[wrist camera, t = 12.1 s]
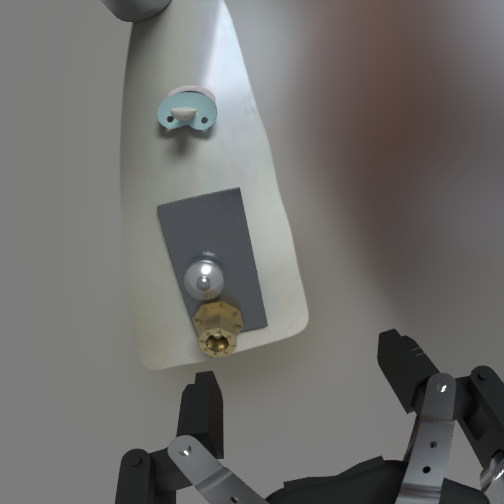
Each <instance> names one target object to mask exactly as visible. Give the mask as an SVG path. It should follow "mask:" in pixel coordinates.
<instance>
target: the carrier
mask: <svg viewBox="0 0 504 504" xmlns="http://www.w3.org/2000/svg"><path fill="white" fill-rule="evenodd" d="M157 210H158V214H159V218H160V222H161V225H162V229H163V232H164V236H165V239H166V243H167V246H168V250H169V253H170V256H171V260H172V263H173V266H174V269H175V272H176V276H177V279H178V282H179V285H180V288H181V291H182V294H183V297H184V300H185V303H186V306H187V309H188V312H189V315H190V318H191V320H192V318H193V314H194V313H195V311H196V310H197V308H198V307H199V306H200V304H201V303H202V301H204V300H210V299H215V298H220V297H223V298H225V299H227V300H229V301H230V302H232V303H234V304H236V305H238V306H239V307H240V311H241V315H242V319H243V323H244V327H243V329H242V330H241V331H246V330H251V329H256V328H261V327H266V326H268V324H267V319H266V314H265V310H264V305H263V300H262V295H261V290H260V285H259V280H258V275H257V270H256V265H255V260H254V255H253V251H252V246H251V241H250V236H249V231H248V226H247V221H246V216H245V211H244V206H243V201H242V197H241V192H240V187H237V188H232V189H227V190H223V191H218V192H213V193H209V194H204V195H200V196H196V197H191V198H187V199H183V200H179V201H175V202H171V203H166V204H162V205H159V206H158V207H157ZM192 323H193V320H192ZM193 326H194V323H193ZM194 329H195V332H196V334H197V331H196V328H195V326H194ZM212 336H213V337H214V338H216V339H219V338H221V337H222V335H220V334H216V335H212ZM197 337H198V334H197Z"/></svg>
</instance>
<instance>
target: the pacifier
mask: <svg viewBox="0 0 504 504" xmlns="http://www.w3.org/2000/svg"><path fill="white" fill-rule="evenodd" d="M194 92H198V93H194ZM200 93H201V94H200ZM215 102H216V101H215V97H214V95H213V93H212V92H210V91H209V90H208V89H206V88H204V87H200V86H194V85H188V86H182V87H178V88H176V89H174V90H173V91H171V92H170V93H169V94H168V96H167V97H166V99H165V100H164V101H163V102H162V103H161V105H160V106H159V108H158V113H157V116H158V120H159V122H160V123H161V124H162V125H163V126H165V127H167V128H171V129H176V128H180V127H182V126H184V125H189V126H190V127H192V128H194V129H198V130H203V129H207V128H209V127H210V126H211V125H213V123H214V122H215V120H216V117H217V108H216V105H215ZM169 116H172V117H173V118H174V120H173V122H168V121H167V118H168V117H169ZM204 117H206V118H208V122H207V123H205V124H203V123H202V122H201V120H202V118H204Z"/></svg>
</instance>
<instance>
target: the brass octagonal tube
mask: <svg viewBox="0 0 504 504" xmlns="http://www.w3.org/2000/svg"><path fill="white" fill-rule="evenodd" d="M192 320H193V323H194V326H195V328H196V331H197V334H198V343H199V346H200V348H201V351H202V352H203V353H205V354H207V355H209V356H212V357H214V358H217V357H223V356H229V355H230V354H231V352H232V351H233V350H234V349H235V348H236V346H237V341H236V336H237V335H238V334H239V332H240V331H241V330H242V329H243V327H244V323H243V319H242V315H241V311H240V307H239V306H238V305H236V304H234V303H232V302H230V301H229V300H227V299H225V298H223V297H220V298H215V299H210V300H204V301H202V303H201V304H200V306H199V307H198V308H197V310H196V311H195V313H194V314H193V318H192ZM216 334H220V335H222V337H221V338H219V339H216V338H214V337H213V336H212V335H216Z"/></svg>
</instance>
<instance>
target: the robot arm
mask: <svg viewBox="0 0 504 504" xmlns="http://www.w3.org/2000/svg"><path fill="white" fill-rule="evenodd" d="M100 1H102V3H103V4H105V6H106V7H107V8H108V9H109V10H110V11H111V12H112V13H113V14H114V15H115V16H116V17H117V18H119V19H121V20H123V21H126V22H138V21H142V20H146V19H148V18H151V17H153V16H154V15H156V14H158V13H159V12H160V11H162V10H163V9H164V8H165V7H166V6H167V5H168V4H169V2H170V1H171V0H100ZM377 359H378V364H379V366H380V368H381V370H382V372H383V373H384V375H385V377H386V378H387V380H388V382H389V383H390V385H391V387H392V389H393V390H394V392H395V394H396V395H397V397H398V399H399V401H400V402H401V404H402V406H403V408H404V409H405V411H406V413H407V414H408V413H410V412H413V411H415V412H416V414H417V416H416V418H415V422H414V426H413V430H412V433H411V437H410V441H409V444H408V447H407V450H406V453H405V455H404V458H403V460H402V461H399V460H385V461H384V460H383V457H382V456H379V457H376V458H373V459H370V460H367V461H364V462H361V463H359V464H357V465H355V466H353V467H352V468H350V469H348V470H346V471H345V472H342V473H341V474H339V475H336V476H328V477H307V478H302V479H297V480H292V481H287V482H283V483H284V488H282V489H279V490H277V491H275V492H274V493H272V494H271V495H269V496H268V497H267V498H265V499H263V498H262V497H261V496H259V495H258V494H257V493H256V492H255V491H253V490H252V489H251V488H250V487H249V486H247V485H246V484H245V483H244V482H243V481H242V480H241V479H240V478H238V477H237V476H236V475H235V474H234V473H233V472H232V471H231V470H229V469H228V468H225V467H224V466H223V465H222V464H221V463H220V462H219V461H218V460H217V459H223V458H224V449H223V398H222V394H221V390H220V388H219V385H218V383H217V380H216V378H215V376H214V373H213V371H206V372H199V373H196V378H195V384H189V385H187V386H186V388H185V390H184V391H183V393H182V399H181V406H180V413H179V421H178V428H177V435H176V438H175V439H173V440H172V441H171V442H170V444H169V446H168V447H167V448H165V449H163V450H159V451H156V452H152V453H149V454H148V453H147V452H146V451H144V450H142V449H132V450H130V451H128V452H127V453H126V454H125V455H124V456H123V458H122V460H121V466H120V472H119V478H118V485H117V492H116V499H115V504H176V490H179V489H182V488H186V487H189V486H192V485H194V486H195V488H196V489H197V490H198V491H199V493H200V494H201V495H202V496H203V497H204V498H205V499H206V500H207V501H208V502H209V503H210V504H504V383H503V382H502V381H501V379H500V378H499V377H498V375H497V374H496V373H495V372H494V370H493V369H491V368H490V367H488V366H478V367H476V368H474V369H473V370H472V372H471V374H470V376H466V377H460V378H453V377H452V376H451V375H449V374H447V373H440V372H439V371H438V369H437V368H436V367H435V366H434V364H433V363H432V362H431V360H430V359H429V358H428V357H427V355H426V354H424V352H423V350H422V349H421V348H420V347H419V345H418V344H417V343H416V342H415V340H413V339H411V338H410V337H408V336H406V335H405V336H402V337H401V336H400V334H399V333H398V332H397V331H396V329H391V330H388V331H385V332H382V333H380V334H379V344H378V355H377ZM454 420H457V421H458V422H459V424H460V426H461V428H462V430H463V431H464V433H465V435H466V437H467V439H468V440H469V442H470V444H471V446H472V448H473V450H474V452H475V454H476V456H477V458H478V460H479V462H480V464H481V466H482V467H483V470H482V472H481V474H480V486H481V491H480V490H477V489H475V488H471V487H469V486H466V485H463V484H460V483H457V482H455V481H452V480H449V479H447V478H444V475H445V471H446V467H447V462H448V458H449V453H450V448H451V443H452V437H453V431H454V425H455V421H454Z"/></svg>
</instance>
